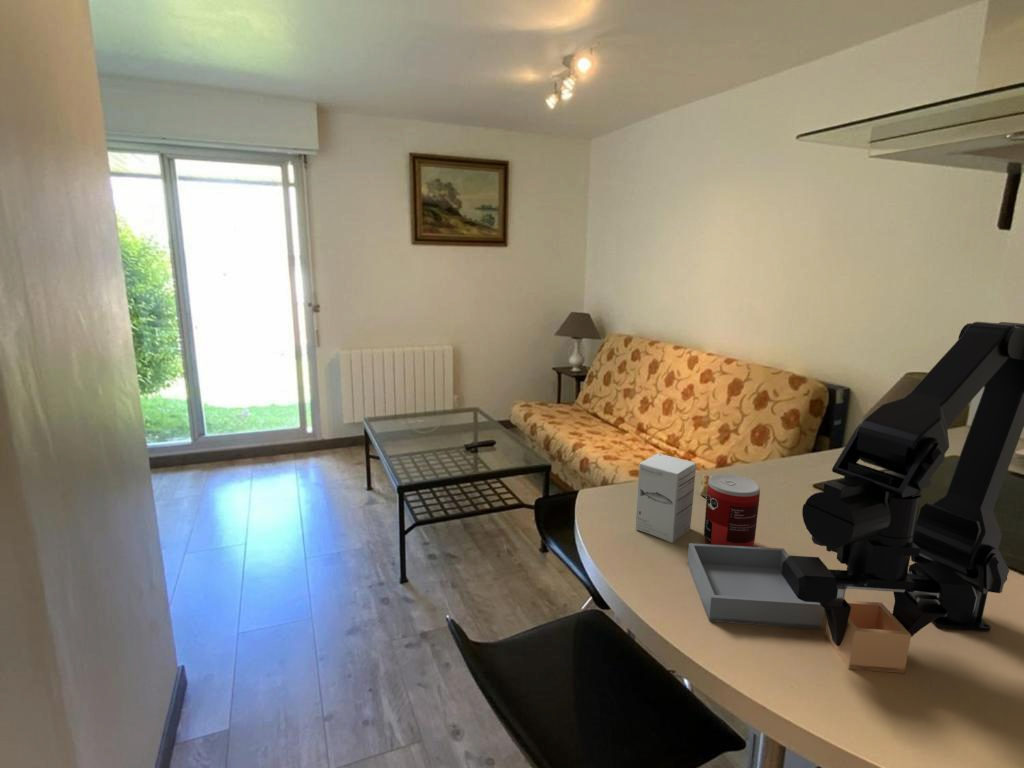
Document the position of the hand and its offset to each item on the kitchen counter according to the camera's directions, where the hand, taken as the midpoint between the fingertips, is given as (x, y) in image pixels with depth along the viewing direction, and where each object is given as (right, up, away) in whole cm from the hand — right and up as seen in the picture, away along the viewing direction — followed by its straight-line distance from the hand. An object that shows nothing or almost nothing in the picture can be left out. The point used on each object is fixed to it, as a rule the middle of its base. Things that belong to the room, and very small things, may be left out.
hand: (863, 645), depth 65 cm
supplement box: (-16, +5, +30) cm, 35 cm away
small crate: (0, -1, 0) cm, 1 cm away
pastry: (0, +9, +45) cm, 46 cm away
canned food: (-6, +4, +25) cm, 27 cm away
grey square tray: (-9, +2, +12) cm, 15 cm away
